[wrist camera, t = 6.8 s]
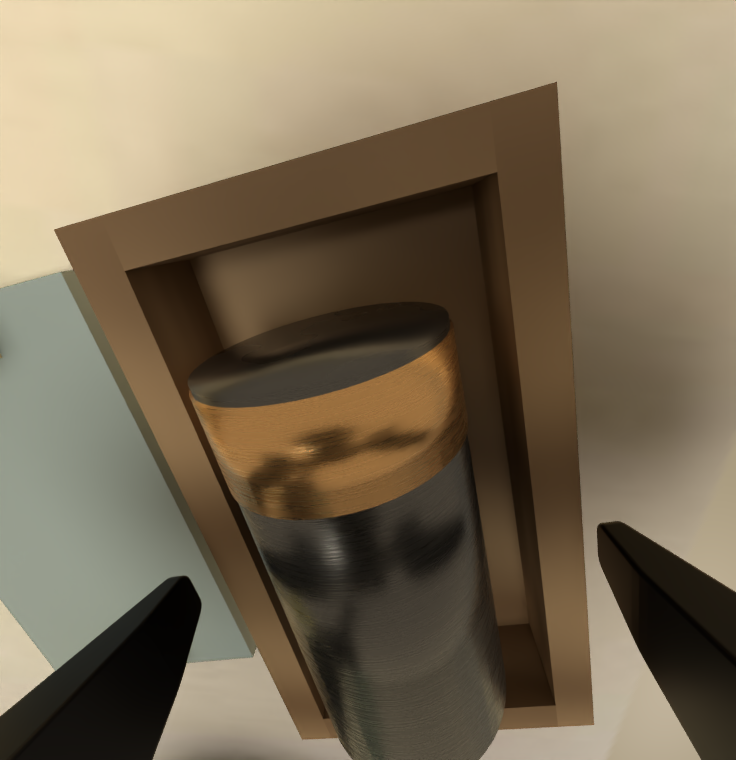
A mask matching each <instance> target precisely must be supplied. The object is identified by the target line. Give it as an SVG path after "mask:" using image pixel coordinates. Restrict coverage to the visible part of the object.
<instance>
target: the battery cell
mask: <svg viewBox="0 0 736 760" xmlns="http://www.w3.org/2000/svg"><path fill="white" fill-rule="evenodd" d="M188 386H189V389H190V390H189V397H190V399H191V401H192V404H193V406H194V408H195V411H196V413H197V415H198V418H199V420H200V422H201V425H202V427H203V429H204V432H205V434H206V436H207V439H208V441H209V443H210V446H211V448H212V450H213V453H214V455H215V457H216V460H217V462H218V464H219V467H220V469H221V471H222V474H223V476H224V478H225V481H226V483H227V485H228V488H229V490H230V492H231V494H232V496H233V497H234V499H235V500H236V501H237V502H238V504H239V506H240V508H241V511H242V513H243V516H244V518H245V520H246V523H247V525H248V527H249V530H250V532H251V534H252V537H253V539H254V541H255V544H256V546H257V548H258V551H259V553H260V555H261V558H262V560H263V562H264V565H265V567H266V570H267V572H268V574H269V577H270V579H271V581H272V584H273V586H274V588H275V591H276V593H277V595H278V598H279V600H280V602H281V605H282V607H283V609H284V612H285V614H286V616H287V619H288V621H289V624H290V626H291V628H292V631H293V633H294V635H295V638H296V640H297V642H298V645H299V647H300V649H301V652H302V654H303V656H304V659H305V661H306V663H307V666H308V668H309V671H310V673H311V675H312V678H313V680H314V682H315V685H316V687H317V689H318V692H319V694H320V696H321V699H322V701H323V703H324V706H325V708H326V710H327V713H328V715H329V717H330V720H331V722H332V725H333V727H334V729H335V732H336V734H337V736H338V738H339V740H340V742H341V744H342V745H343V747H344V748H345V750H346V751H347V753H348V754H349V756H350V757H351V758H352V759H353V760H479V759H480V758H481V756H482V755H483V754H484V753H485V752H486V750H487V749H488V747H489V746H490V744H491V743H492V741H493V739H494V737H495V735H496V733H497V731H498V729H499V726H500V723H501V720H502V717H503V713H504V707H505V701H506V677H505V669H504V662H503V656H502V650H501V643H500V637H499V630H498V624H497V618H496V611H495V605H494V599H493V592H492V586H491V580H490V573H489V567H488V561H487V554H486V548H485V542H484V535H483V529H482V523H481V516H480V510H479V504H478V497H477V491H476V485H475V478H474V472H473V466H472V459H471V453H470V446H469V440H468V434H467V431H468V417H467V411H466V404H465V398H464V391H463V385H462V379H461V372H460V366H459V359H458V353H457V346H456V340H455V333H454V327H453V323H452V321H451V319H450V318H449V314H448V312H447V310H446V309H445V308H444V307H442V306H439V305H436V304H432V303H425V302H393V303H382V304H375V305H367V306H361V307H355V308H350V309H345V310H340V311H336V312H331V313H327V314H323V315H319V316H315V317H311V318H307V319H304V320H300V321H297V322H294V323H290V324H287V325H284V326H281V327H278V328H275V329H272V330H269V331H267V332H264V333H261V334H259V335H256V336H254V337H251V338H248V339H246V340H244V341H242V342H239V343H237V344H235V345H233V346H231V347H229V348H227V349H225V350H223V351H221V352H219V353H217V354H215V355H214V356H212V357H210V358H209V359H207V360H206V361H204V362H203V363H202V364H200V365H199V366H198V367H197V368H196V369H195V370H194V371H193V372H192V373H191V374H190V376H189V378H188Z"/></svg>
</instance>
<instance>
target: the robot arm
mask: <svg viewBox="0 0 736 760" xmlns="http://www.w3.org/2000/svg"><path fill="white" fill-rule="evenodd" d="M597 542H598V557H599V562H600V565H601V567H602V570H603V572H604V574H605V576H606V579H607V581H608V583H609V585H610V587H611V590H612V592H613V594H614V596H615V599H616V601H617V603H618V605H619V607H620V610H621V612H622V614H623V616H624V619H625V621H626V623H627V625H628V627H629V630H630V632H631V634H632V636H633V638H634V641H635V643H636V645H637V647H638V649H639V651H640V653H641V655H642V656H643V658H644V660H645V662H646V664H647V665H648V667H649V669H650V671H651V672H652V674H653V676H654V678H655V680H656V681H657V683H658V685H659V687H660V688H661V690H662V692H663V694H664V695H665V697H666V699H667V701H668V702H669V704H670V706H671V707H672V709H673V711H674V713H675V715H676V716H677V718H678V720H679V722H680V723H681V725H682V727H683V728H684V730H685V732H686V734H687V736H688V737H689V739H690V741H691V742H692V744H693V746H694V748H695V749H696V751H697V753H698V755H699V756H700V758H701V760H736V592H735V591H733V590H731V589H730V588H728V587H727V586H725V585H724V584H722V583H720V582H719V581H717V580H715V579H713V578H712V577H711V576H709V575H707V574H706V573H704V572H702V571H701V570H699V569H698V568H696V567H694V566H692V565H691V564H690V563H688V562H686V561H685V560H683V559H681V558H680V557H678V556H677V555H675V554H673V553H672V552H670V551H668V550H667V549H665V548H664V547H662V546H660V545H659V544H657V543H656V542H654V541H652V540H651V539H649V538H647V537H646V536H644V535H643V534H641V533H639V532H638V531H636V530H634V529H633V528H631V527H630V526H628V525H626V524H625V523H623V522H620V521H614V522H606V523H600V524H599V525H598V527H597ZM201 609H202V602H201V599H200V597H199V595H198V593H197V591H196V589H195V587H194V585H193V583H192V581H191V580H190V578H189V577H188V576H185V575H182V576H174V577H170V578H168V579H166V580H165V581H164V582H163V583H161V584H160V585H159V586H158V587H157V588H155V589H154V590H153V591H152V592H151V593H149V594H148V595H147V596H146V597H144V598H143V599H142V600H141V601H140V602H138V603H137V604H136V605H135V606H134V607H132V608H131V609H130V610H129V611H127V612H126V613H125V614H124V615H123V616H121V617H120V618H119V619H118V620H117V621H115V622H114V623H113V624H112V625H111V626H109V627H108V628H107V629H106V630H104V631H103V632H102V633H101V634H100V635H98V636H97V637H96V638H95V639H94V640H92V641H91V642H90V643H89V644H87V645H86V646H85V647H84V648H83V649H81V650H80V651H79V652H78V653H77V654H75V655H74V656H73V657H72V658H70V659H69V660H68V661H67V662H66V663H64V664H63V665H62V666H61V667H60V668H58V669H57V670H56V671H55V672H54V673H52V674H51V675H50V676H49V677H47V678H46V679H45V680H44V681H43V682H41V683H40V684H39V685H38V686H37V687H35V688H34V689H33V690H32V691H30V692H29V693H28V694H27V695H26V696H24V697H23V698H22V699H21V700H20V701H18V702H17V703H16V704H15V705H13V706H12V707H11V708H10V709H9V710H7V711H6V712H5V713H4V714H3V715H1V716H0V760H152V759H153V757H154V754H155V751H156V749H157V746H158V743H159V741H160V738H161V735H162V733H163V730H164V727H165V725H166V722H167V719H168V717H169V714H170V711H171V709H172V706H173V703H174V701H175V698H176V695H177V692H178V689H179V687H180V683H181V680H182V677H183V674H184V670H185V667H186V663H187V660H188V656H189V653H190V649H191V646H192V642H193V639H194V635H195V632H196V628H197V624H198V621H199V617H200V614H201Z"/></svg>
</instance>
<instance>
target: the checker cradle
mask: <svg viewBox="0 0 736 760" xmlns="http://www.w3.org/2000/svg"><path fill="white" fill-rule="evenodd" d="M182 575H185V576H188V577H189V578H190V580H191V581H192V583H193V585H194V587H195V589H196V591H197V593H198V595H199V597H200V599H201V602H202V609H201V614H200V617H199V621H198V624H197V628H196V632H195V635H194V639H193V642H192V646H191V649H190V653H189V656H188V660H187V663H192V662H204V661H215V660H227V659H238V658H250V657H253V656H254V653H255V650H256V647H257V646H256V643H255V641H254V639H253V637H252V635H251V633H250V631H249V629H248V627H247V625H246V623H245V621H244V619H243V617H242V615H241V613H240V611H239V609H238V606H237V604H236V602H235V600H234V598H233V596H232V594H231V592H230V590H229V588H228V586H227V584H226V582H225V580H224V578H223V576H222V574H221V572H220V570H219V567H218V565H217V563H216V561H215V559H214V557H213V555H212V553H211V551H210V549H209V547H208V545H207V543H206V541H205V539H204V537H203V535H202V533H201V531H200V528H199V526H198V524H197V522H196V520H195V518H194V516H193V514H192V512H191V510H190V508H189V506H188V504H187V502H186V500H185V498H184V496H183V494H182V492H181V489H180V487H179V485H178V483H177V481H176V479H175V477H174V475H173V473H172V471H171V469H170V467H169V465H168V463H167V461H166V459H165V457H164V455H163V452H162V450H161V448H160V446H159V444H158V442H157V440H156V438H155V436H154V434H153V432H152V430H151V428H150V426H149V424H148V422H147V420H146V418H145V416H144V413H143V411H142V409H141V407H140V405H139V403H138V401H137V399H136V397H135V395H134V393H133V391H132V389H131V387H130V385H129V383H128V381H127V379H126V377H125V374H124V372H123V370H122V368H121V366H120V364H119V362H118V360H117V358H116V356H115V354H114V352H113V350H112V348H111V346H110V344H109V342H108V340H107V337H106V335H105V333H104V331H103V329H102V327H101V325H100V323H99V321H98V319H97V317H96V315H95V313H94V311H93V309H92V307H91V305H90V303H89V301H88V298H87V296H86V294H85V292H84V290H83V288H82V286H81V284H80V282H79V280H78V278H77V276H76V274H75V272H74V270H71V271H64V272H59V273H55V274H52V275H48V276H44V277H41V278H37V279H33V280H30V281H26V282H22V283H19V284H15V285H11V286H8V287H4V288H0V600H1V601H2V602H3V604H4V605H5V606H6V607H7V609H8V610H9V611H10V613H11V614H12V615H13V617H14V618H15V619H16V620H17V622H18V623H19V624H20V626H21V627H22V628H23V630H24V631H25V632H26V633H27V635H28V636H29V637H30V639H31V640H32V641H33V642H34V644H35V645H36V646H37V648H38V649H39V650H40V652H41V653H42V654H43V655H44V657H45V658H46V659H47V661H48V662H49V663H50V665H51V666H52V667H53V668H54V670H55V671H56V670H57V669H58V668H60V667H61V666H62V665H63V664H64V663H66V662H67V661H68V660H69V659H70V658H72V657H73V656H74V655H75V654H77V653H78V652H79V651H80V650H81V649H83V648H84V647H85V646H86V645H87V644H89V643H90V642H91V641H92V640H94V639H95V638H96V637H97V636H98V635H100V634H101V633H102V632H103V631H104V630H106V629H107V628H108V627H109V626H111V625H112V624H113V623H114V622H115V621H117V620H118V619H119V618H120V617H121V616H123V615H124V614H125V613H126V612H127V611H129V610H130V609H131V608H132V607H134V606H135V605H136V604H137V603H138V602H140V601H141V600H142V599H143V598H144V597H146V596H147V595H148V594H149V593H151V592H152V591H153V590H154V589H155V588H157V587H158V586H159V585H160V584H161V583H163V582H164V581H165V580H166V579H168V578H170V577H174V576H182Z"/></svg>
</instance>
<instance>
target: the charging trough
mask: <svg viewBox="0 0 736 760" xmlns="http://www.w3.org/2000/svg"><path fill="white" fill-rule="evenodd" d="M54 231H55V233H56V235H57V237H58V239H59V241H60V243H61V245H62V247H63V249H64V251H65V253H66V255H67V257H68V259H69V262H70V264H71V266H72V268H73V270H74V272H75V274H76V276H77V278H78V280H79V282H80V284H81V286H82V288H83V290H84V292H85V294H86V296H87V298H88V301H89V303H90V305H91V307H92V309H93V311H94V313H95V315H96V317H97V319H98V321H99V323H100V325H101V327H102V329H103V331H104V333H105V335H106V337H107V340H108V342H109V344H110V346H111V348H112V350H113V352H114V354H115V356H116V358H117V360H118V362H119V364H120V366H121V368H122V370H123V372H124V374H125V377H126V379H127V381H128V383H129V385H130V387H131V389H132V391H133V393H134V395H135V397H136V399H137V401H138V403H139V405H140V407H141V409H142V411H143V413H144V416H145V418H146V420H147V422H148V424H149V426H150V428H151V430H152V432H153V434H154V436H155V438H156V440H157V442H158V444H159V446H160V448H161V450H162V452H163V455H164V457H165V459H166V461H167V463H168V465H169V467H170V469H171V471H172V473H173V475H174V477H175V479H176V481H177V483H178V485H179V487H180V489H181V492H182V494H183V496H184V498H185V500H186V502H187V504H188V506H189V508H190V510H191V512H192V514H193V516H194V518H195V520H196V522H197V524H198V526H199V528H200V531H201V533H202V535H203V537H204V539H205V541H206V543H207V545H208V547H209V549H210V551H211V553H212V555H213V557H214V559H215V561H216V563H217V565H218V567H219V570H220V572H221V574H222V576H223V578H224V580H225V582H226V584H227V586H228V588H229V590H230V592H231V594H232V596H233V598H234V600H235V602H236V604H237V606H238V609H239V611H240V613H241V615H242V617H243V619H244V621H245V623H246V625H247V627H248V629H249V631H250V633H251V635H252V637H253V639H254V641H255V643H256V646H257V648H258V650H259V652H260V654H261V656H262V658H263V660H264V662H265V664H266V666H267V668H268V670H269V672H270V674H271V676H272V678H273V680H274V682H275V685H276V687H277V689H278V691H279V693H280V695H281V697H282V699H283V701H284V703H285V705H286V707H287V709H288V711H289V713H290V715H291V717H292V719H293V721H294V724H295V726H296V728H297V730H298V732H299V734H300V736H301V738H302V740H303V739H323V738H338V736H337V734H336V732H335V729H334V727H333V725H332V722H331V720H330V717H329V715H328V713H327V710H326V708H325V706H324V703H323V701H322V699H321V696H320V694H319V692H318V689H317V687H316V685H315V682H314V680H313V678H312V675H311V673H310V671H309V668H308V666H307V663H306V661H305V659H304V656H303V654H302V652H301V649H300V647H299V645H298V642H297V640H296V638H295V635H294V633H293V631H292V628H291V626H290V624H289V621H288V619H287V616H286V614H285V612H284V609H283V607H282V605H281V602H280V600H279V598H278V595H277V593H276V591H275V588H274V586H273V584H272V581H271V579H270V577H269V574H268V572H267V570H266V567H265V565H264V562H263V560H262V558H261V555H260V553H259V551H258V548H257V546H256V544H255V541H254V539H253V537H252V534H251V532H250V530H249V527H248V525H247V523H246V520H245V518H244V516H243V513H242V511H241V508H240V506H239V504H238V502H237V501H236V500H235V499H234V497H233V496H232V494H231V492H230V490H229V488H228V485H227V483H226V481H225V478H224V476H223V474H222V471H221V469H220V467H219V464H218V462H217V460H216V457H215V455H214V453H213V450H212V448H211V446H210V443H209V441H208V439H207V436H206V434H205V432H204V429H203V427H202V425H201V422H200V420H199V418H198V415H197V413H196V411H195V408H194V406H193V404H192V401H191V399H190V397H189V390H190V389H189V386H188V378H189V376H190V374H191V373H192V372H193V371H194V370H195V369H196V368H197V367H198V366H199V365H200V364H202V363H203V362H204V361H206V360H207V359H209V358H210V357H212V356H214V355H215V354H217V353H219V352H221V351H223V350H225V349H227V348H229V347H231V346H233V345H235V344H237V343H239V342H242V341H244V340H246V339H248V338H251V337H254V336H256V335H259V334H261V333H264V332H267V331H269V330H272V329H275V328H278V327H281V326H284V325H287V324H290V323H294V322H297V321H300V320H304V319H307V318H311V317H315V316H319V315H323V314H327V313H331V312H336V311H340V310H345V309H350V308H355V307H361V306H367V305H375V304H382V303H393V302H425V303H432V304H436V305H439V306H442V307H444V308H445V309H446V310H447V312H448V314H449V318H450V319H451V321H452V323H453V327H454V333H455V340H456V346H457V353H458V359H459V366H460V372H461V379H462V385H463V391H464V398H465V404H466V411H467V417H468V431H467V434H468V440H469V446H470V453H471V459H472V466H473V472H474V478H475V485H476V491H477V497H478V504H479V510H480V516H481V523H482V529H483V535H484V542H485V548H486V554H487V561H488V567H489V573H490V580H491V586H492V592H493V599H494V605H495V611H496V618H497V624H498V630H499V637H500V643H501V650H502V656H503V662H504V669H505V677H506V701H505V707H504V713H503V717H502V720H501V723H500V726H499V729H498V730H502V729H522V728H541V727H561V726H581V725H594V717H593V700H592V682H591V665H590V648H589V630H588V613H587V596H586V578H585V561H584V544H583V526H582V509H581V491H580V474H579V457H578V439H577V422H576V405H575V387H574V370H573V353H572V335H571V318H570V301H569V283H568V266H567V249H566V231H565V214H564V196H563V179H562V162H561V144H560V127H559V110H558V92H557V82H555V83H551V84H548V85H545V86H541V87H538V88H534V89H531V90H528V91H524V92H521V93H517V94H514V95H511V96H507V97H504V98H500V99H497V100H493V101H490V102H487V103H483V104H480V105H476V106H473V107H470V108H466V109H463V110H459V111H456V112H453V113H449V114H446V115H442V116H439V117H436V118H432V119H429V120H425V121H422V122H419V123H415V124H412V125H408V126H405V127H402V128H398V129H395V130H391V131H388V132H385V133H381V134H378V135H374V136H371V137H368V138H364V139H361V140H357V141H354V142H350V143H347V144H344V145H340V146H337V147H333V148H330V149H327V150H323V151H320V152H316V153H313V154H310V155H306V156H303V157H299V158H296V159H293V160H289V161H286V162H282V163H279V164H276V165H272V166H269V167H265V168H262V169H259V170H255V171H252V172H248V173H245V174H242V175H238V176H235V177H231V178H228V179H225V180H221V181H218V182H214V183H211V184H208V185H204V186H201V187H197V188H194V189H190V190H187V191H184V192H180V193H177V194H173V195H170V196H167V197H163V198H160V199H156V200H153V201H150V202H146V203H143V204H139V205H136V206H133V207H129V208H126V209H122V210H119V211H116V212H112V213H109V214H105V215H102V216H99V217H95V218H92V219H88V220H85V221H82V222H78V223H75V224H71V225H68V226H65V227H61V228H58V229H54Z"/></svg>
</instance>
